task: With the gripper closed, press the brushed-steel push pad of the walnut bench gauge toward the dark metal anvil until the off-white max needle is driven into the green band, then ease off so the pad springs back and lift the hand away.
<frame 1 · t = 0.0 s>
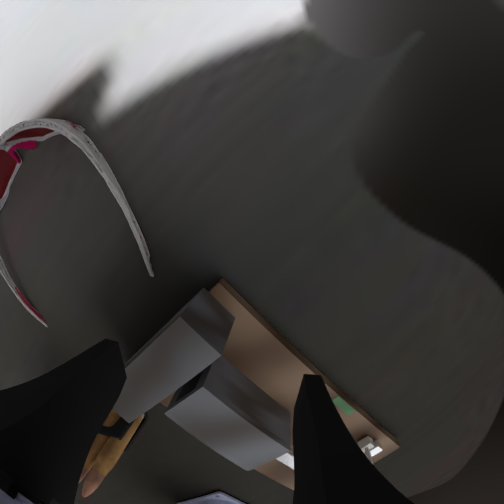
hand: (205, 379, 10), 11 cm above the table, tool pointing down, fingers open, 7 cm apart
grey angular piece: (319, 465, 19), point 4 cm above the table, slide at 0.0 cm
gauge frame: (290, 428, 23), on the table
ammunition clip: (104, 403, 25), on the table
max needle: (369, 458, 18), point 4 cm above the table, slide at 0.0 cm
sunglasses: (56, 220, 22), on the table
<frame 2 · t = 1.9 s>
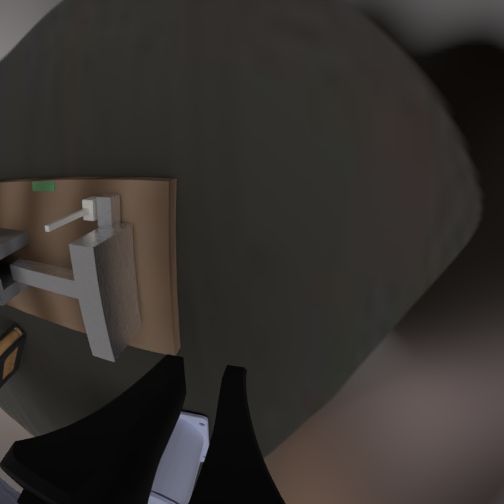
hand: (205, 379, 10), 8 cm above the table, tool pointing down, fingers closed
grey angular piece: (57, 268, 15), point 4 cm above the table, slide at 0.0 cm
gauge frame: (61, 255, 19), on the table
ammunition clip: (17, 347, 25), on the table
max needle: (74, 216, 13), point 4 cm above the table, slide at 0.0 cm
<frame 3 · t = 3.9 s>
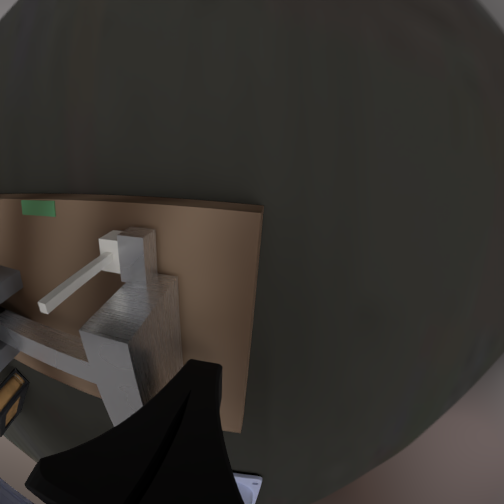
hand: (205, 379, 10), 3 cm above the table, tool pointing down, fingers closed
grey angular piece: (59, 336, 10), point 4 cm above the table, slide at 0.6 cm, touching gripper, max needle
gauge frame: (69, 303, 13), on the table
ammunition clip: (19, 391, 20), on the table
max needle: (88, 271, 8), point 4 cm above the table, slide at 0.3 cm, touching grey angular piece
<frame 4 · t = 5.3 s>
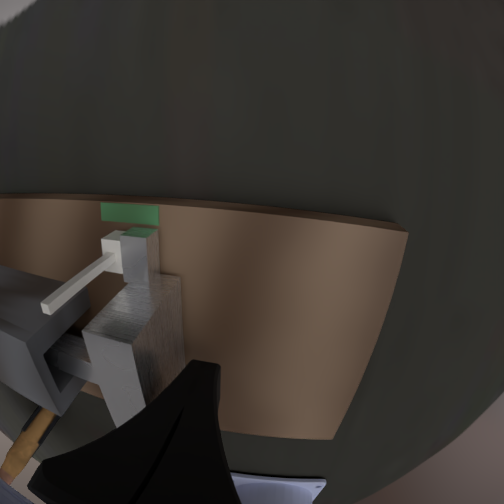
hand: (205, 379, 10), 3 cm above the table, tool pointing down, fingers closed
grey angular piece: (61, 337, 10), point 3 cm above the table, slide at 5.6 cm, touching gripper, max needle
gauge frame: (150, 322, 13), on the table
ammunition clip: (52, 409, 19), on the table
max needle: (91, 272, 8), point 4 cm above the table, slide at 5.3 cm, touching grey angular piece
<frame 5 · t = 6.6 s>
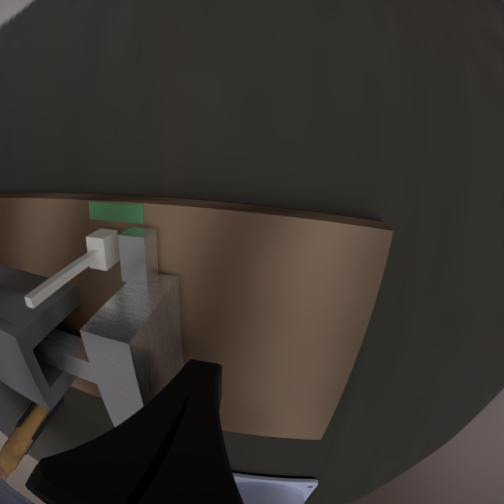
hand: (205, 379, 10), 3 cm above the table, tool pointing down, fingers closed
grey angular piece: (59, 336, 10), point 3 cm above the table, slide at 5.1 cm, touching gripper
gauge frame: (138, 320, 13), on the table
ammunition clip: (47, 406, 19), on the table
max needle: (74, 268, 8), point 4 cm above the table, slide at 5.4 cm
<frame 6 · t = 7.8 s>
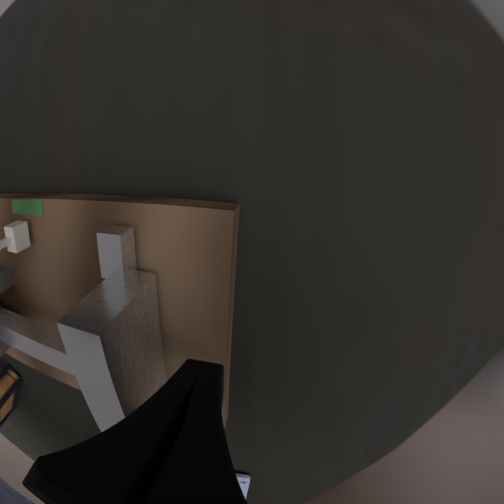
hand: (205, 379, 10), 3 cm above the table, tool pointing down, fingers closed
grey angular piece: (45, 331, 10), point 3 cm above the table, slide at 0.5 cm
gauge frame: (58, 299, 14), on the table
ammunition clip: (14, 387, 20), on the table
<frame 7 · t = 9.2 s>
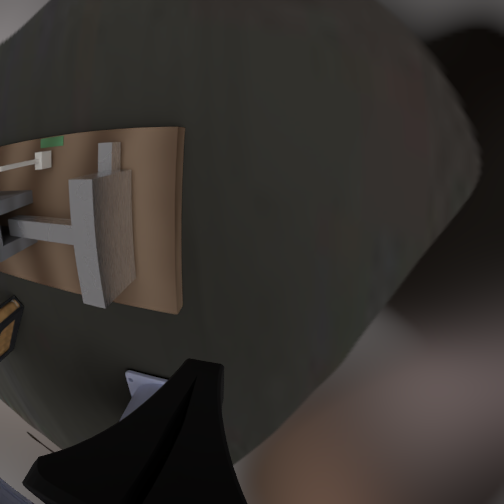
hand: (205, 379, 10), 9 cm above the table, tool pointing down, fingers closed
grey angular piece: (54, 216, 15), point 4 cm above the table, slide at 0.5 cm
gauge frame: (64, 214, 19), on the table
ammunition clip: (14, 323, 25), on the table
max needle: (25, 163, 14), point 4 cm above the table, slide at 5.4 cm
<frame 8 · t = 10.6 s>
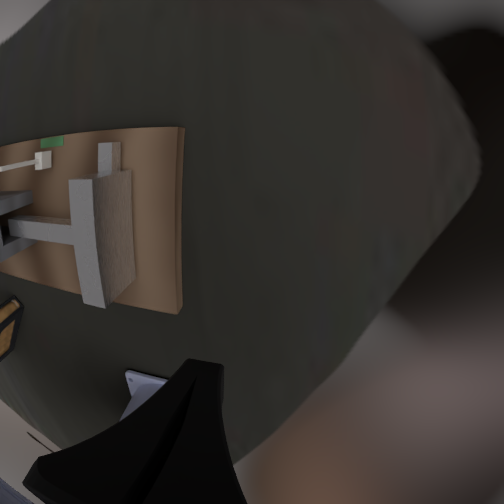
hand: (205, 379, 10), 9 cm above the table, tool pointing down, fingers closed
grey angular piece: (54, 216, 15), point 4 cm above the table, slide at 0.5 cm
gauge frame: (64, 214, 19), on the table
ammunition clip: (14, 323, 25), on the table
max needle: (25, 163, 14), point 4 cm above the table, slide at 5.4 cm
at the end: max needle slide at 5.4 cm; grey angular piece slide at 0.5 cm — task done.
